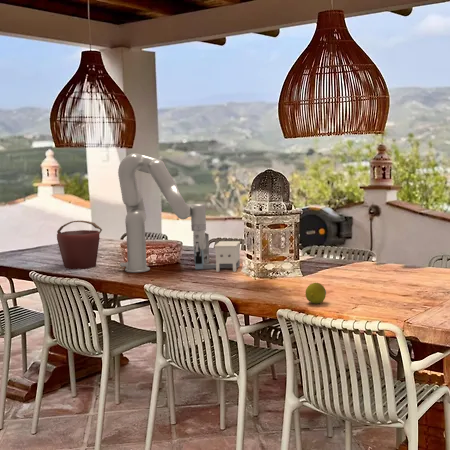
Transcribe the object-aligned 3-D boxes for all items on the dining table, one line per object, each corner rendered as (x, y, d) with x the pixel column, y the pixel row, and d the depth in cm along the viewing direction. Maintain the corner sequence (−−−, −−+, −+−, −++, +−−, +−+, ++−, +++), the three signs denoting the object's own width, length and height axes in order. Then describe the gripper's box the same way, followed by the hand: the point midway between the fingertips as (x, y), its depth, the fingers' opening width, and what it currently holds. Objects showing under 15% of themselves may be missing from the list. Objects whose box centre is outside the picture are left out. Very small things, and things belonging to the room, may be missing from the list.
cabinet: (214, 271, 324) (214, 246, 323) (220, 265, 342) (219, 241, 340) (236, 271, 323) (236, 246, 321) (240, 265, 340) (240, 241, 339)
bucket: (111, 264, 354) (109, 219, 352) (86, 271, 335) (84, 223, 332) (75, 262, 365) (72, 218, 362) (48, 269, 345) (46, 222, 342)
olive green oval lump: (320, 307, 245) (320, 286, 244) (301, 305, 249) (301, 284, 248) (330, 301, 255) (330, 281, 254) (311, 299, 258) (311, 279, 258)
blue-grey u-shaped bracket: (195, 269, 333) (194, 248, 332) (196, 267, 337) (195, 246, 336) (237, 267, 329) (236, 246, 328) (238, 266, 333) (237, 245, 332)
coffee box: (193, 261, 357) (192, 232, 355) (205, 260, 359) (204, 231, 357) (198, 264, 348) (197, 234, 347) (209, 263, 350) (208, 233, 349)
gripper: (202, 229, 324) (203, 265, 326) (208, 225, 340) (209, 260, 342) (188, 229, 325) (189, 265, 327) (194, 225, 341) (195, 260, 343)
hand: (199, 262), depth 334 cm, fingers closed on blue-grey u-shaped bracket, 4 cm apart
